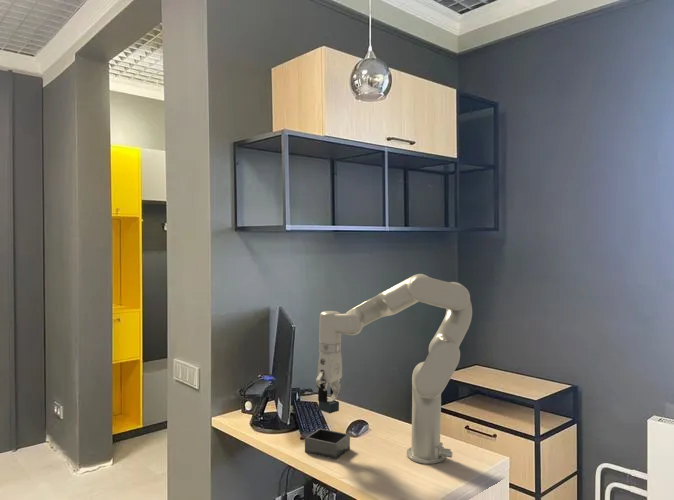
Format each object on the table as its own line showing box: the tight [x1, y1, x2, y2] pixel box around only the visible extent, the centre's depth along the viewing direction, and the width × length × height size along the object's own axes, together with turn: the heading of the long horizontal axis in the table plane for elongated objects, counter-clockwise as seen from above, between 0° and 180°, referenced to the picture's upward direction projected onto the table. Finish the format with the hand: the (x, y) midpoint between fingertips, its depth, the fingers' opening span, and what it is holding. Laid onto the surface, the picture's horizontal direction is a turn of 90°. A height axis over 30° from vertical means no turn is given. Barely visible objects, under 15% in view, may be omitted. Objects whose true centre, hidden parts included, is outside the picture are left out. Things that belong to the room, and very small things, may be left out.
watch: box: [318, 380, 342, 414], centre depth 176 cm, size 6×8×11 cm
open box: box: [304, 427, 351, 460], centre depth 177 cm, size 12×10×5 cm
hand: (328, 398), depth 176 cm, fingers closed on watch, 8 cm apart
